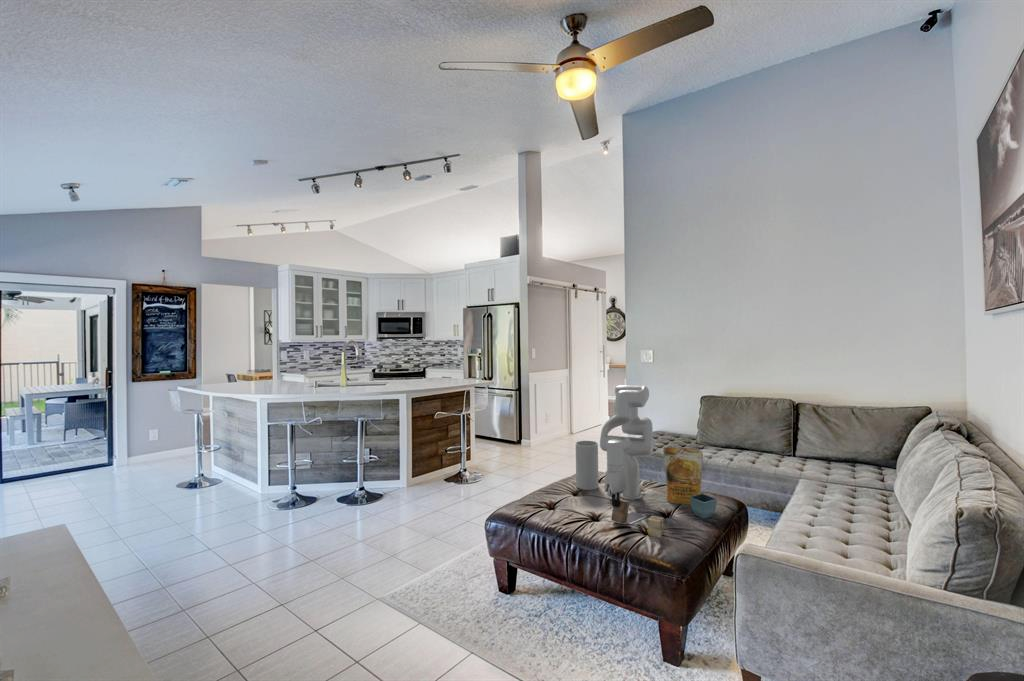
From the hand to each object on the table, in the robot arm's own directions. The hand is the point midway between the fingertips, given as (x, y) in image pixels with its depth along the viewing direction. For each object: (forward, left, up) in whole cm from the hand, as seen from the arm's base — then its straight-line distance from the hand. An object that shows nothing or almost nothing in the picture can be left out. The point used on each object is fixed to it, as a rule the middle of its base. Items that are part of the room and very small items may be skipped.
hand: (615, 506), depth 223 cm
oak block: (-5, +18, -9) cm, 21 cm away
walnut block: (-2, 0, -8) cm, 8 cm away
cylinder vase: (-29, -43, -9) cm, 52 cm away
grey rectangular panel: (-11, 0, -8) cm, 14 cm away
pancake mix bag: (-47, +6, -9) cm, 48 cm away
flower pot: (-38, +22, -9) cm, 45 cm away
